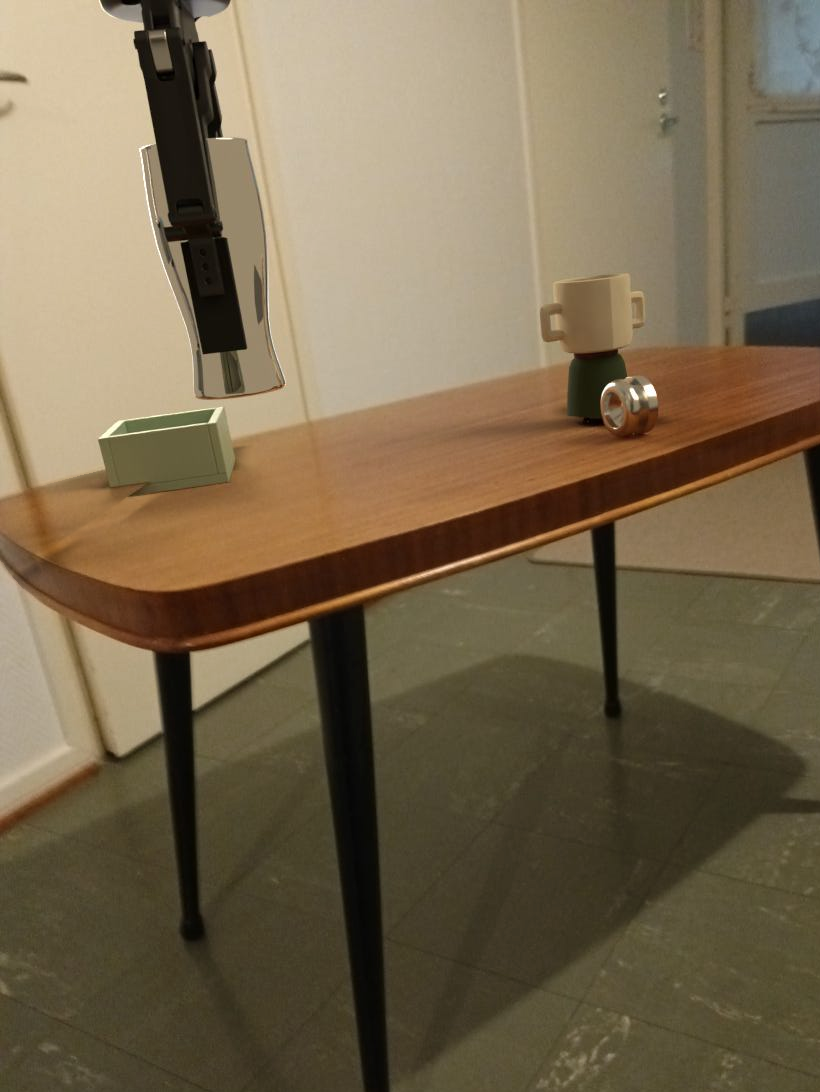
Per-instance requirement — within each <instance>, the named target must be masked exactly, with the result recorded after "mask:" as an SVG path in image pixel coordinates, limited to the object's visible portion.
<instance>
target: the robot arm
mask: <svg viewBox="0 0 820 1092" xmlns="http://www.w3.org/2000/svg"><path fill="white" fill-rule="evenodd" d="M231 1H232V0H98V2H99V4H100V5H99V6H100V7H101V9H102V10H103V12H105V13H106V14H107V15H109V16H110V17H112V18H114V19H117V20H121V21H124V22H129V23H141V24H142V27H143V29H142V30H134V31H133V36H134V38H133V46H134V49H135V50H136V51H137V56H138V57H137V58H138V62H139V63H138V64H139V68H140V70H141V73H142V77H143V81H144V87H145V93H146V98H147V102H148V103H147V104H148V107H149V114H150V118H151V124H152V125H151V126H152V129H153V134H154V135H153V136H154V139H155V140H154V141H155V144H156V146H157V151H158V157H159V162H160V168H161V173H162V178H163V184H164V189H165V194H166V200H167V205H168V211H169V213H168V219H169V222H170V224H171V227H164V233H165V236H166V239H167V242H175V241H184V240H188V242H180V244H181V249H182V254H183V259H184V264H185V269H186V274H187V279H188V284H189V289H190V294H191V299H192V304H193V309H194V314H195V319H196V324H197V328H198V333H199V338H200V343H201V348H202V353H203V354H212V353H220V352H229V351H238V350H246V349H247V343H246V337H245V332H244V327H243V321H242V316H241V310H240V305H239V300H238V294H237V289H236V283H235V278H234V272H233V267H232V262H231V256H230V251H229V245H228V240H227V238H218V239H215V237H222V230H223V224H222V221H220V215H219V208H218V201H217V194H216V187H215V180H214V175H213V169H212V163H211V157H210V152H209V146H208V141H207V138H220V137H224V136H223V135H224V134H223V129H222V124H223V113H222V110H221V106H220V101H219V95H218V91H217V86H216V81H217V77H218V76H217V74H218V72H217V71H218V70H217V67H216V63H215V62H216V61H215V57H214V52H213V50H212V48H210V49H209V47H208V43H207V41H206V40H203V41H200V38H199V33H198V31H197V26H196V22H197V21H198V20H199V19H201V18H202V17H207V18H208V17H214V16H215V15H218V14H220V13H222V12H224V11H225V10H227V8H228V7H229V5H230V4H231Z"/></svg>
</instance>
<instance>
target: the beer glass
mask: <svg viewBox="0 0 820 1092" xmlns="http://www.w3.org/2000/svg"><path fill="white" fill-rule="evenodd" d="M207 141H208V146H209V152H210V157H211V163H212V169H213V175H214V180H215V187H216V194H217V201H218V208H219V215H220V221H222V224H223V230H222V237H215V239H218V238H227V240H228V245H229V251H230V256H231V262H232V267H233V272H234V278H235V283H236V289H237V294H238V300H239V305H240V310H241V316H242V321H243V327H244V332H245V337H246V343H247V349H246V350H238V351H229V352H220V353H212V354H203V353H202V348H201V343H200V338H199V333H198V328H197V324H196V319H195V314H194V309H193V304H192V299H191V294H190V289H189V284H188V279H187V274H186V269H185V264H184V259H183V254H182V249H181V244H180V242H188V240H184V241H175V242H167V239H166V236H165V233H164V227H171V224H170V222H169V219H168V213H169V211H168V205H167V200H166V194H165V189H164V184H163V178H162V173H161V168H160V162H159V157H158V151H157V146H156V143H154V144H153V143H152V144H149V145H145V146H142V147H141V148H139V152H140V157H141V164H142V171H143V172H142V173H143V181H144V188H145V195H146V196H145V197H146V202H147V209H148V213H149V218H150V223H151V228H152V232H153V236H154V240H155V246H156V248H157V251H158V254H159V257H160V260H161V263H162V265H163V266H162V267H163V269H164V272H165V274H166V277H167V280H168V282H169V285H170V288H171V290H172V293H173V296H174V298H175V301H176V304H177V307H178V309H179V311H180V315H181V318H182V320H183V322H184V326H185V329H186V332H187V336H188V339H189V345H190V349H191V350H190V351H191V357H192V382H193V394H194V397H195V398H196V399H198V400H204V401H213V400H215V401H216V400H217V401H219V400H230V399H238V398H245V397H253V396H257V395H263V394H268V393H272V392H275V391H279V390H281V389H283V388H285V387H286V385H287V383H286V377H285V375H284V373H283V369H282V367H281V364H280V361H279V358H278V356H277V353H276V349H275V346H274V341H273V337H272V332H271V325H270V317H269V316H270V313H269V312H270V311H269V308H270V307H269V255H268V238H267V237H268V236H267V235H268V234H267V227H266V221H265V215H264V214H265V213H264V208H263V203H262V198H261V191H260V187H259V184H258V179H257V175H256V171H255V167H254V164H253V160H252V156H251V155H252V154H251V150H250V147H249V141H248V139H246V138H243V137H231V136H230V137H226V136H225V137H224V136H223V137H220V138H207Z"/></svg>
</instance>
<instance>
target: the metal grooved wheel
mask: <svg viewBox="0 0 820 1092" xmlns="http://www.w3.org/2000/svg"><path fill="white" fill-rule="evenodd" d="M600 407H601V415H602V418H601V419H602V421H603V424H604V426H605V427H606V429H607V431H609V433H610V434H611V435H612V436H615V437H616V438H620V437H625V438H629V437H631V436H632V435H634V434H639V435H642V434H647V433H649V432H651V431H652V430H653V429H654V428H655V426H656V424H657V422H658V417H659V400H658V396H657V392H656V390H655V387H654V386H653V384H652V383H651V381H650V380H649V379H648V378H647V377H645V376H643V375H641V374H639V375H638V374H637V375H632V376H627V378H625V379H624V380H623V379H616V380H613V381H611V382H609V383H608V384H607V385H606V386H605V388H604V390H603V392H602V395H601V403H600ZM633 433H634V434H633Z"/></svg>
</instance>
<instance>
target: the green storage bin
mask: <svg viewBox="0 0 820 1092" xmlns="http://www.w3.org/2000/svg"><path fill="white" fill-rule="evenodd" d="M228 422H229V421H228V418H227V413H226V409H225V406H216V407H210V408H209V407H208V408H202V409H195V410H187V411H180V412H173V413H166V414H165V413H164V414H159V415H158V414H157V415H151V416H144V417H136V418H130V419H121V420H117V421H116V422H115V423H114V424H113V425H111V427H110V428H108V429H107V430H106V431H105V432H104V433H103V434H102V435H100V436H99V437H98V438H97V442H98V445H99V449H100V454H101V457H102V461H103V464H104V468H105V472H106V477H107V480H108V484H109V487H110V488H114V487H122V486H128V485H135V484H142V483H146V484H144V485H143V486H141V487H140V488H138V489H136V490H135V491H134V492H132V493H131V494H129V495H127V498H130V497H136V496H137V497H138V496H143V495H150V494H157V493H162V492H170V491H177V490H183V489H191V488H198V487H203V486H211V485H218V484H226V483H229V482H230V481H231V476H232V473H233V469H234V467H235V464H236V456H235V451H234V447H233V446H234V445H233V441H232V437H231V432H230V427H229V423H228Z"/></svg>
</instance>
